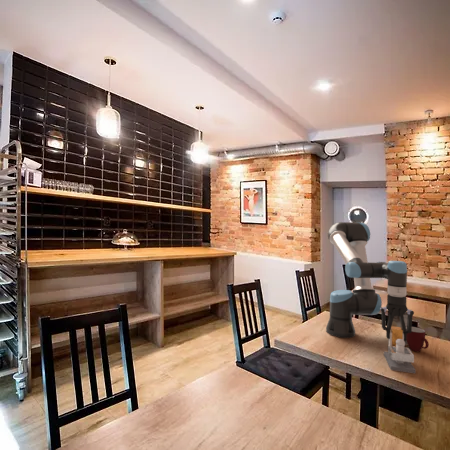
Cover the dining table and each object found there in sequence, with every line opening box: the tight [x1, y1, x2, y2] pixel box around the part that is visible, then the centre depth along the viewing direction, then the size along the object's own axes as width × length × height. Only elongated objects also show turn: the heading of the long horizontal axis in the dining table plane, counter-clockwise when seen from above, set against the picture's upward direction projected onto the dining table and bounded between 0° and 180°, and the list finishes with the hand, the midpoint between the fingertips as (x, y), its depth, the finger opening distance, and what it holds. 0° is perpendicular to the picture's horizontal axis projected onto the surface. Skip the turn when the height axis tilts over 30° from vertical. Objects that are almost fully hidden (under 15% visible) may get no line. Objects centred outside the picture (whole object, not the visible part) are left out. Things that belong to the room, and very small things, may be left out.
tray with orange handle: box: [387, 326, 415, 364], centre depth 127 cm, size 14×8×10 cm, turn 162°
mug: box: [406, 326, 430, 353], centre depth 140 cm, size 10×8×10 cm
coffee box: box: [387, 310, 408, 346], centre depth 152 cm, size 9×6×16 cm
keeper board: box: [383, 339, 416, 374], centre depth 127 cm, size 15×9×12 cm, turn 162°
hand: (396, 346), depth 132 cm, fingers closed on tray with orange handle, 4 cm apart
